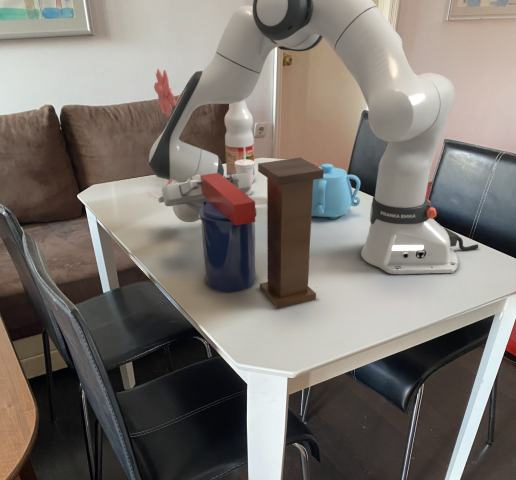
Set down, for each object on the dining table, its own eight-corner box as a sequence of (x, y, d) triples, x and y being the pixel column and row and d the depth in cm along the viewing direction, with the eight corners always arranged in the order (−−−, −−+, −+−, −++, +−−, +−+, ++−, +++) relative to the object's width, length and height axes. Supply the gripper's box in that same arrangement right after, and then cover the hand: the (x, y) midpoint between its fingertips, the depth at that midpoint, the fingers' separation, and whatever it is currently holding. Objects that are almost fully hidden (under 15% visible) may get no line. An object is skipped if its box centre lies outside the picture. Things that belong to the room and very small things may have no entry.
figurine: (179, 177, 175) (167, 62, 154) (209, 199, 156) (200, 72, 136) (136, 184, 169) (118, 66, 148) (162, 208, 150) (146, 77, 130)
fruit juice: (232, 175, 176) (228, 86, 159) (257, 177, 173) (256, 87, 157) (223, 184, 168) (218, 91, 152) (250, 186, 166) (247, 92, 150)
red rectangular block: (201, 193, 110) (200, 175, 108) (219, 190, 112) (218, 172, 110) (235, 225, 96) (234, 205, 93) (255, 221, 97) (255, 201, 95)
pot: (261, 269, 118) (260, 198, 108) (252, 295, 108) (250, 219, 98) (211, 266, 119) (206, 195, 109) (198, 290, 110) (191, 216, 100)
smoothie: (256, 190, 163) (255, 145, 155) (254, 196, 158) (253, 150, 150) (236, 189, 163) (235, 144, 155) (234, 196, 158) (232, 150, 150)
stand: (259, 289, 110) (257, 163, 94) (296, 281, 113) (300, 157, 97) (277, 309, 103) (278, 176, 87) (315, 299, 106) (323, 169, 90)
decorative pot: (335, 199, 155) (338, 153, 147) (363, 217, 143) (368, 168, 135) (287, 207, 150) (288, 160, 142) (312, 226, 138) (314, 176, 130)
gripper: (153, 188, 116) (163, 172, 103) (235, 176, 123) (254, 159, 110) (160, 216, 117) (171, 203, 104) (241, 202, 124) (261, 188, 111)
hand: (214, 180), depth 107 cm, fingers open, 8 cm apart
